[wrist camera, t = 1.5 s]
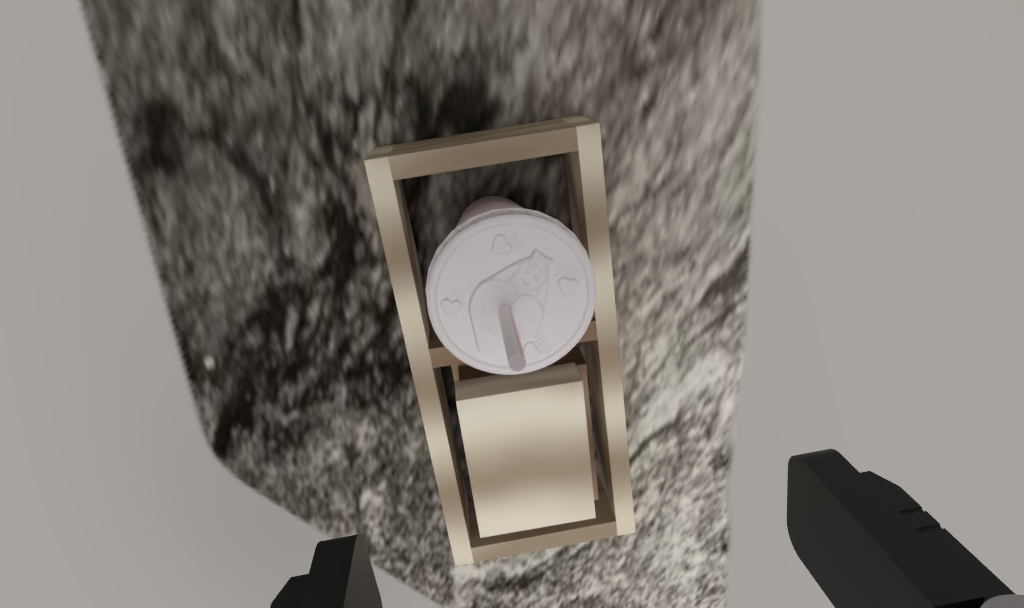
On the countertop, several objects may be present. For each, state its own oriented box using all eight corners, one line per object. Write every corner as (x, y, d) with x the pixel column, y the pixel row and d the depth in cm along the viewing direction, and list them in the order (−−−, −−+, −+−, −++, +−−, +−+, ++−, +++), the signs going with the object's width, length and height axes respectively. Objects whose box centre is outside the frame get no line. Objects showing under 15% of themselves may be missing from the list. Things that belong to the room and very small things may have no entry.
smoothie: (406, 252, 32) (381, 383, 19) (473, 142, 31) (495, 205, 18) (511, 312, 34) (554, 470, 21) (580, 211, 32) (672, 315, 19)
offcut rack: (373, 147, 30) (364, 160, 27) (580, 115, 31) (599, 123, 27) (454, 516, 38) (455, 566, 35) (616, 487, 39) (635, 532, 35)
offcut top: (455, 381, 31) (455, 401, 30) (574, 362, 32) (582, 380, 30) (478, 512, 34) (480, 538, 32) (587, 493, 35) (595, 518, 33)
